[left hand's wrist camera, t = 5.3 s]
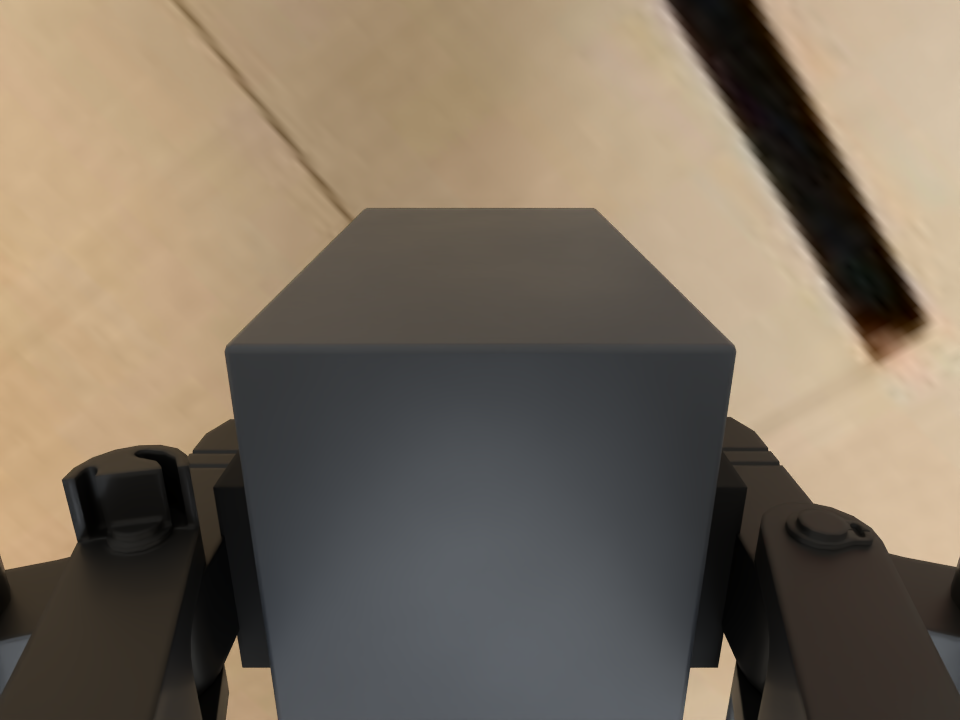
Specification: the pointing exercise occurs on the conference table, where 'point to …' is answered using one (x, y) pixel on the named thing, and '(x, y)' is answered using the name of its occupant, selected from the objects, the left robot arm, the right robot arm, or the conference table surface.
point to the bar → (480, 470)
